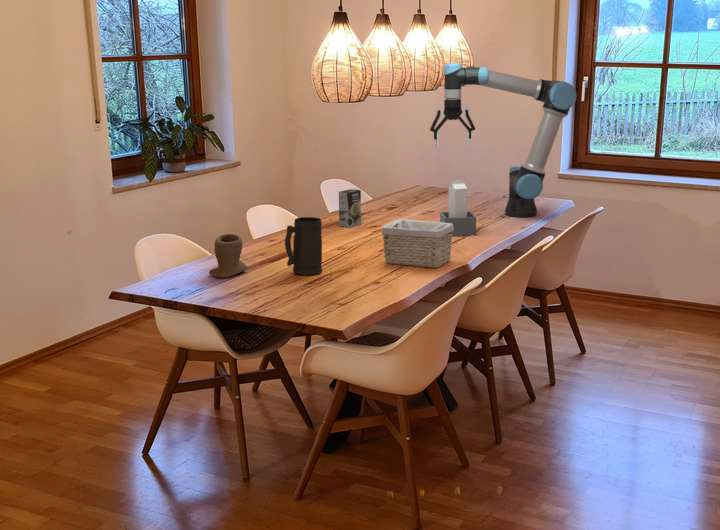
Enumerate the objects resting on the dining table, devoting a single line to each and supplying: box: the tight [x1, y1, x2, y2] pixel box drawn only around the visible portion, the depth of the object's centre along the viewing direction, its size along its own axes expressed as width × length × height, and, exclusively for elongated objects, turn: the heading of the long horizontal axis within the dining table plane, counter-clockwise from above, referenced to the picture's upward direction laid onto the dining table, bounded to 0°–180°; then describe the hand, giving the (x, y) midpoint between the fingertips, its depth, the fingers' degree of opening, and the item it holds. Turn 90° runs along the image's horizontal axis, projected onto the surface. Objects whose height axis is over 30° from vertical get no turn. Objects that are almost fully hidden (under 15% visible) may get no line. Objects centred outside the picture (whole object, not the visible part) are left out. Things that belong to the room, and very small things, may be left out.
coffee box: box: [338, 188, 362, 228], centre depth 390 cm, size 9×6×16 cm
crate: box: [439, 210, 477, 237], centre depth 372 cm, size 14×14×8 cm
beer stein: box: [284, 216, 323, 276], centre depth 310 cm, size 15×11×20 cm
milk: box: [448, 179, 468, 218], centre depth 370 cm, size 6×6×22 cm
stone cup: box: [208, 233, 249, 278], centre depth 312 cm, size 15×12×15 cm
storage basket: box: [381, 218, 454, 269], centre depth 324 cm, size 24×16×15 cm
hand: (452, 146), depth 386 cm, fingers open, 13 cm apart
